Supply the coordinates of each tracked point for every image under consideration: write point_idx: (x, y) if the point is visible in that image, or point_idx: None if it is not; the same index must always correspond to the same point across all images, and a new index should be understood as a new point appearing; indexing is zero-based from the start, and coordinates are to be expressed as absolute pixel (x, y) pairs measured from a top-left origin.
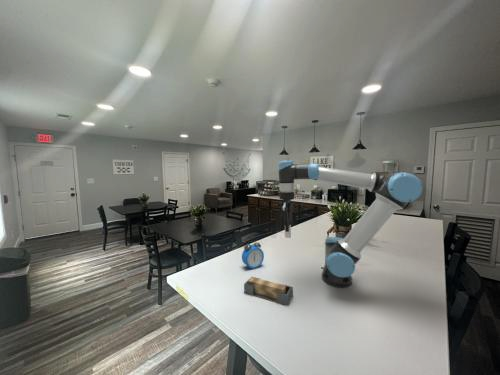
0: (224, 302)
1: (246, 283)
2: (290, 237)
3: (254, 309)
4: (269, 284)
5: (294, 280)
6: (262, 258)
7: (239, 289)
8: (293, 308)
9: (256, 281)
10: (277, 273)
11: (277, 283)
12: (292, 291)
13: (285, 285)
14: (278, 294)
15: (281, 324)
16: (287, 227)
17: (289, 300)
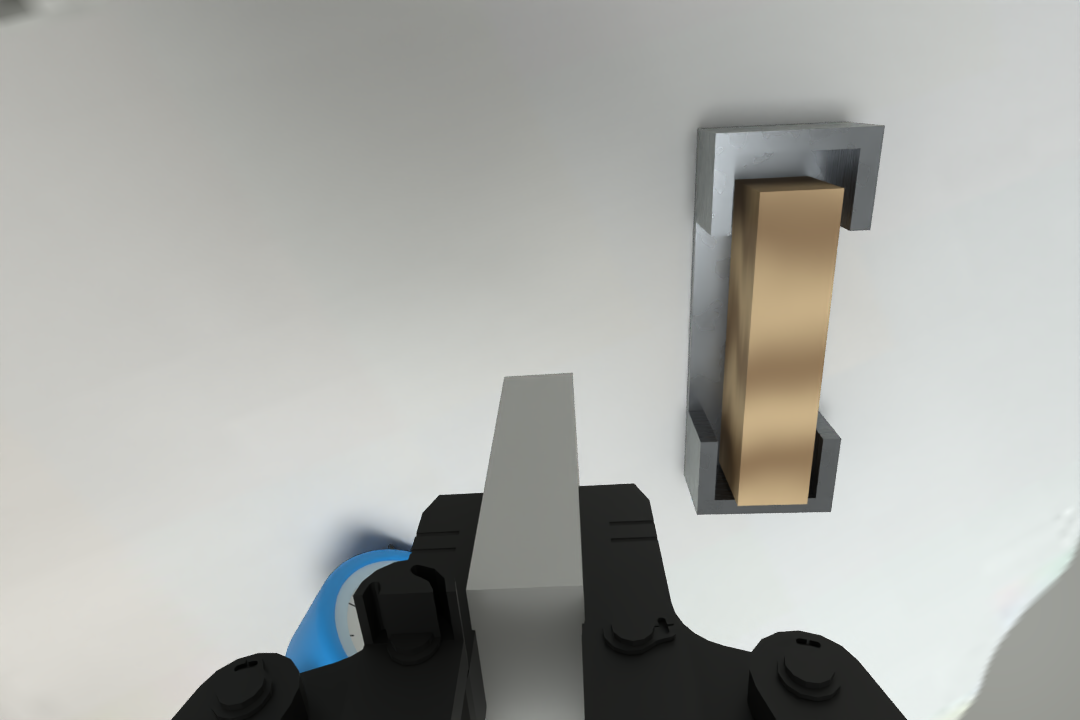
0: (951, 523)
1: (816, 500)
2: (546, 375)
3: (963, 327)
4: (798, 332)
5: (442, 200)
6: (348, 577)
7: (774, 518)
8: (859, 69)
9: (792, 444)
10: (408, 376)
11: (756, 276)
12: (724, 130)
13: (760, 196)
14: (868, 214)
15: (1071, 90)
16: (664, 588)
17: (808, 124)
